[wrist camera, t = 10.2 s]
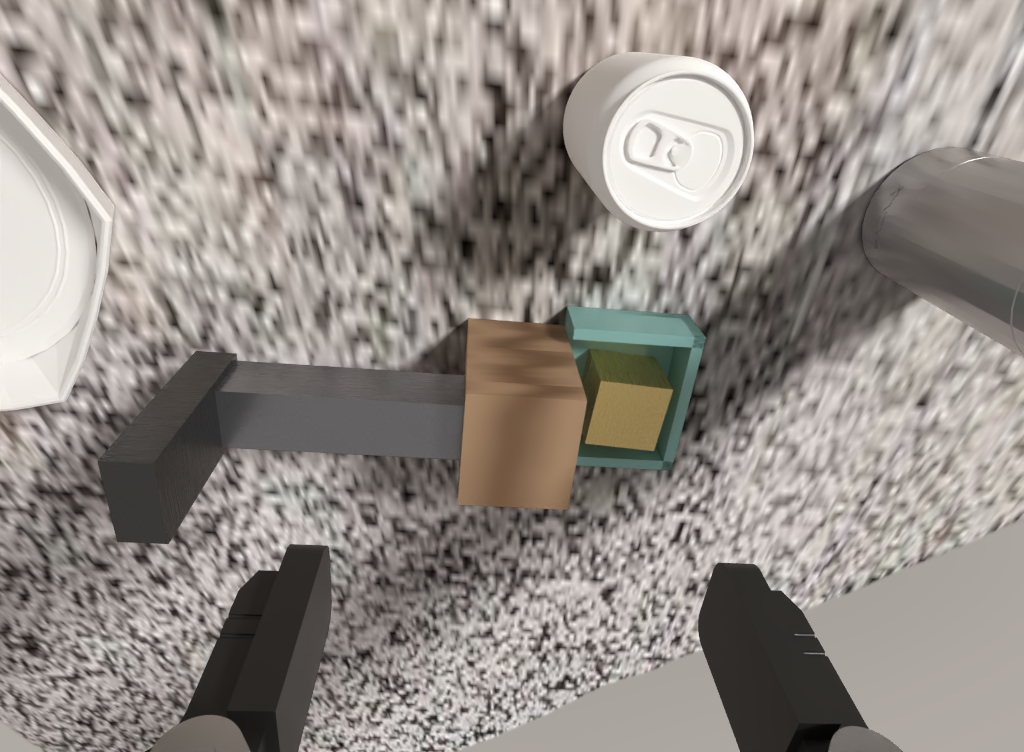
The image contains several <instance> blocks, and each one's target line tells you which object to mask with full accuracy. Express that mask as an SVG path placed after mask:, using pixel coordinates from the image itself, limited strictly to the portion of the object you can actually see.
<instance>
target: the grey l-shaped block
mask: <svg viewBox="0 0 1024 752" xmlns="http://www.w3.org/2000/svg"><path fill="white" fill-rule="evenodd" d="M465 377H466V375H453V374H437V373H421V372H406V371H390V370H374V369H359V368H343V367H328V366H312V365H296V364H281V363H265V362H249V361H237V354H232V353H217V352H202V351H196V352H195V353H194V354H193V355H192V356H191V357H190V358H189V360H188V361H187V362H186V363H185V364H184V365H183V366H182V367H181V368H180V370H179V371H178V372H177V373H176V374H175V375H174V376H173V377H172V379H171V380H170V381H169V382H168V383H167V384H166V385H165V386H164V387H163V389H162V390H161V391H160V392H159V393H158V394H157V395H156V396H155V397H154V399H153V400H152V401H151V402H150V403H149V404H148V405H147V406H146V408H145V409H144V410H143V411H142V412H141V413H140V414H139V415H138V416H137V418H136V419H135V420H134V421H133V422H132V423H131V424H130V425H129V427H128V428H127V429H126V430H125V431H124V432H123V433H122V434H121V435H120V437H119V438H118V439H117V440H116V441H115V442H114V443H113V444H112V445H111V447H110V448H109V449H108V450H107V451H106V452H105V453H104V454H103V456H102V457H101V458H100V459H99V460H98V465H99V469H100V473H101V477H102V481H103V485H104V489H105V494H106V498H107V502H108V506H109V510H110V514H111V518H112V522H113V526H114V530H115V534H116V539H117V542H134V543H159V544H169V542H170V541H171V539H172V537H173V536H174V534H175V532H176V531H177V529H178V528H179V526H180V524H181V523H182V521H183V519H184V518H185V516H186V514H187V513H188V511H189V509H190V508H191V506H192V505H193V503H194V501H195V500H196V498H197V496H198V495H199V493H200V491H201V490H202V488H203V486H204V485H205V483H206V482H207V480H208V478H209V477H210V475H211V473H212V472H213V470H214V468H215V467H216V465H217V464H218V462H219V460H220V459H221V457H222V455H223V454H224V452H225V450H226V449H227V448H244V449H263V450H282V451H301V452H320V453H339V454H359V455H378V456H397V457H416V458H435V459H454V460H460V459H461V446H462V432H463V418H464V405H465Z"/></svg>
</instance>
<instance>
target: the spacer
mask: <svg viewBox="0 0 1024 752" xmlns="http://www.w3.org/2000/svg"><path fill="white" fill-rule="evenodd" d="M581 382H582V385H583V389H584V392H585V395H586V398H587V405H586V411H585V417H584V422H583V428H582V434H583V438H584V442H585V444H594V445H603V446H612V447H621V448H630V449H639V450H648V451H654V449H655V446H656V443H657V440H658V437H659V433H660V430H661V427H662V424H663V421H664V418H665V414H666V411H667V408H668V405H669V402H670V399H671V395H672V392H673V388H672V386H671V385H670V383H669V381H668V379H667V377H666V376H665V374H664V372H663V370H662V368H661V367H660V365H659V363H658V361H657V359H656V358H655V357H652V356H644V355H637V354H629V353H621V352H613V351H606V350H598V349H590V348H589V352H588V356H587V360H586V364H585V368H584V373H583V377H582V381H581Z"/></svg>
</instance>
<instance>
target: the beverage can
mask: <svg viewBox="0 0 1024 752" xmlns="http://www.w3.org/2000/svg"><path fill="white" fill-rule="evenodd" d="M563 136H564V142H565V146H566V150H567V153H568V155H569V157H570V159H571V161H572V163H573V165H574V166H575V168H576V169H577V170H578V172H579V173H580V174H581V176H582V177H583V178H584V180H585V181H586V182H587V184H588V185H589V186H590V188H591V189H592V190H593V192H594V193H595V194H596V196H597V197H598V198H599V200H600V201H601V202H602V204H603V205H604V206H605V207H606V208H607V209H608V210H609V211H610V212H611V213H612V214H613V215H614V216H615V217H617V218H618V219H619V220H621V221H623V222H624V223H626V224H628V225H630V226H633V227H635V228H638V229H642V230H647V231H654V232H667V231H675V230H679V229H683V228H686V227H689V226H692V225H695V224H697V223H700V222H702V221H704V220H706V219H708V218H709V217H711V216H712V215H714V214H715V213H717V212H718V211H719V210H720V209H722V208H723V207H724V206H725V205H726V204H727V203H728V202H729V201H730V200H731V198H732V197H733V196H734V195H735V193H736V192H737V191H738V189H739V188H740V186H741V184H742V183H743V181H744V179H745V177H746V174H747V172H748V169H749V166H750V163H751V159H752V154H753V147H754V132H753V121H752V116H751V112H750V108H749V105H748V102H747V100H746V98H745V96H744V94H743V92H742V91H741V89H740V88H739V86H738V85H737V83H736V82H735V81H734V80H733V79H732V78H731V77H730V76H729V75H728V74H727V73H726V72H724V71H723V70H722V69H720V68H719V67H717V66H716V65H714V64H712V63H710V62H707V61H705V60H702V59H698V58H693V57H686V56H676V55H665V54H654V53H643V52H626V53H620V54H616V55H613V56H611V57H608V58H606V59H604V60H602V61H600V62H599V63H597V64H596V65H594V66H593V67H592V68H591V69H589V70H588V71H587V72H586V73H585V74H584V75H583V77H582V78H581V79H580V80H579V82H578V83H577V84H576V86H575V87H574V89H573V91H572V93H571V95H570V97H569V100H568V102H567V105H566V109H565V113H564V120H563Z"/></svg>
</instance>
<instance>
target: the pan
mask: <svg viewBox="0 0 1024 752" xmlns="http://www.w3.org/2000/svg"><path fill="white" fill-rule="evenodd" d="M87 207H88V208H87ZM114 209H115V206H114V205H113V204H112V202H111V201H110V200H109V198H108V197H107V196H106V194H105V193H104V192H103V190H102V189H101V188H100V186H99V185H98V184H97V182H96V181H95V180H94V178H93V177H92V176H91V174H90V173H89V172H88V170H87V169H86V168H85V166H84V165H83V164H82V163H81V161H80V160H79V159H78V158H77V157H76V156H75V155H74V153H73V152H72V151H71V150H70V149H69V148H68V147H67V145H66V144H65V143H64V142H63V141H62V140H61V139H60V138H59V136H58V135H57V134H56V133H55V132H54V131H53V130H52V128H51V127H50V126H49V125H48V124H47V123H46V122H45V121H44V119H43V118H42V117H41V116H40V115H39V114H38V113H37V112H36V111H35V110H34V109H33V108H32V107H31V106H30V105H29V104H28V102H27V101H26V100H25V99H24V98H23V97H22V96H21V95H20V94H19V93H18V92H17V91H16V90H15V89H14V88H13V87H12V86H11V85H10V84H9V83H8V82H7V81H6V79H5V78H4V77H3V76H2V75H1V74H0V411H9V410H19V409H25V408H30V407H36V406H42V405H48V404H54V403H59V402H64V401H66V400H67V398H68V396H69V394H70V392H71V390H72V388H73V385H74V383H75V381H76V379H77V377H78V375H79V373H80V371H81V369H82V366H83V364H84V361H85V358H86V354H87V351H88V348H89V344H90V341H91V338H92V335H93V331H94V328H95V325H96V321H97V317H98V313H99V309H100V304H101V300H102V295H103V291H104V286H105V282H106V278H107V273H108V267H109V259H110V251H111V242H112V231H113V220H114ZM88 210H89V212H88ZM95 240H96V242H95ZM96 244H97V252H96Z"/></svg>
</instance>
